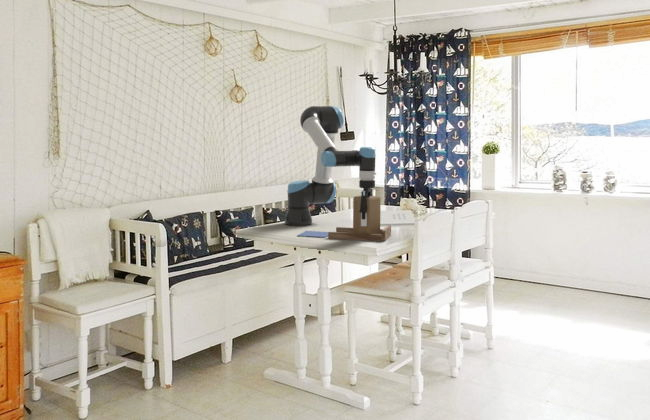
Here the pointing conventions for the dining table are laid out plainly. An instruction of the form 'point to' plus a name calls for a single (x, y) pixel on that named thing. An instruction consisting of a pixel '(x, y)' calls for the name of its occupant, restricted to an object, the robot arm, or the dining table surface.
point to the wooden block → (372, 215)
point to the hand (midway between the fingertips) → (366, 224)
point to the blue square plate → (314, 234)
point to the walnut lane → (359, 234)
